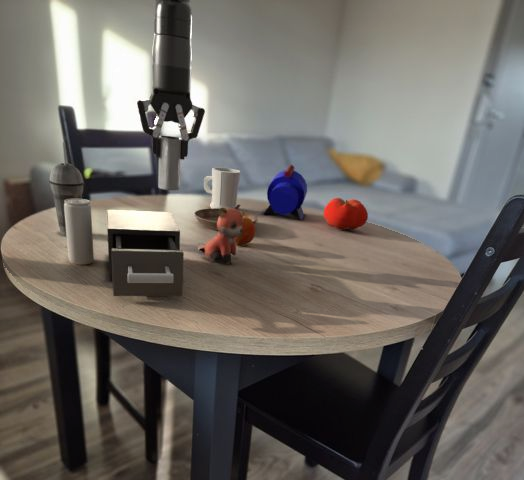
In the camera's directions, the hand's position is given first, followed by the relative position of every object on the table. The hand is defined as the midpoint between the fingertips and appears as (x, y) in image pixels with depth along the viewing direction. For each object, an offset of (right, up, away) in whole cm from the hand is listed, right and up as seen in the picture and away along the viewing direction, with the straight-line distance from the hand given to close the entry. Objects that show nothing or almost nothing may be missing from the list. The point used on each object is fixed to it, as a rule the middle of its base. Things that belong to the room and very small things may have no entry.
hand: (169, 157), depth 101 cm
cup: (+6, +4, +53) cm, 53 cm away
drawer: (-1, -30, -15) cm, 33 cm away
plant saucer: (+9, -6, +34) cm, 36 cm away
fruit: (+14, -14, +19) cm, 28 cm away
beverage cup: (-26, -13, +12) cm, 31 cm away
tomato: (+44, -3, +47) cm, 64 cm away
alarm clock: (+27, +3, +55) cm, 61 cm away
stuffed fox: (+9, -20, +8) cm, 23 cm away
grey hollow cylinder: (-1, -6, +3) cm, 7 cm away
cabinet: (-5, -24, -4) cm, 25 cm away
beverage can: (-17, -23, -4) cm, 29 cm away
